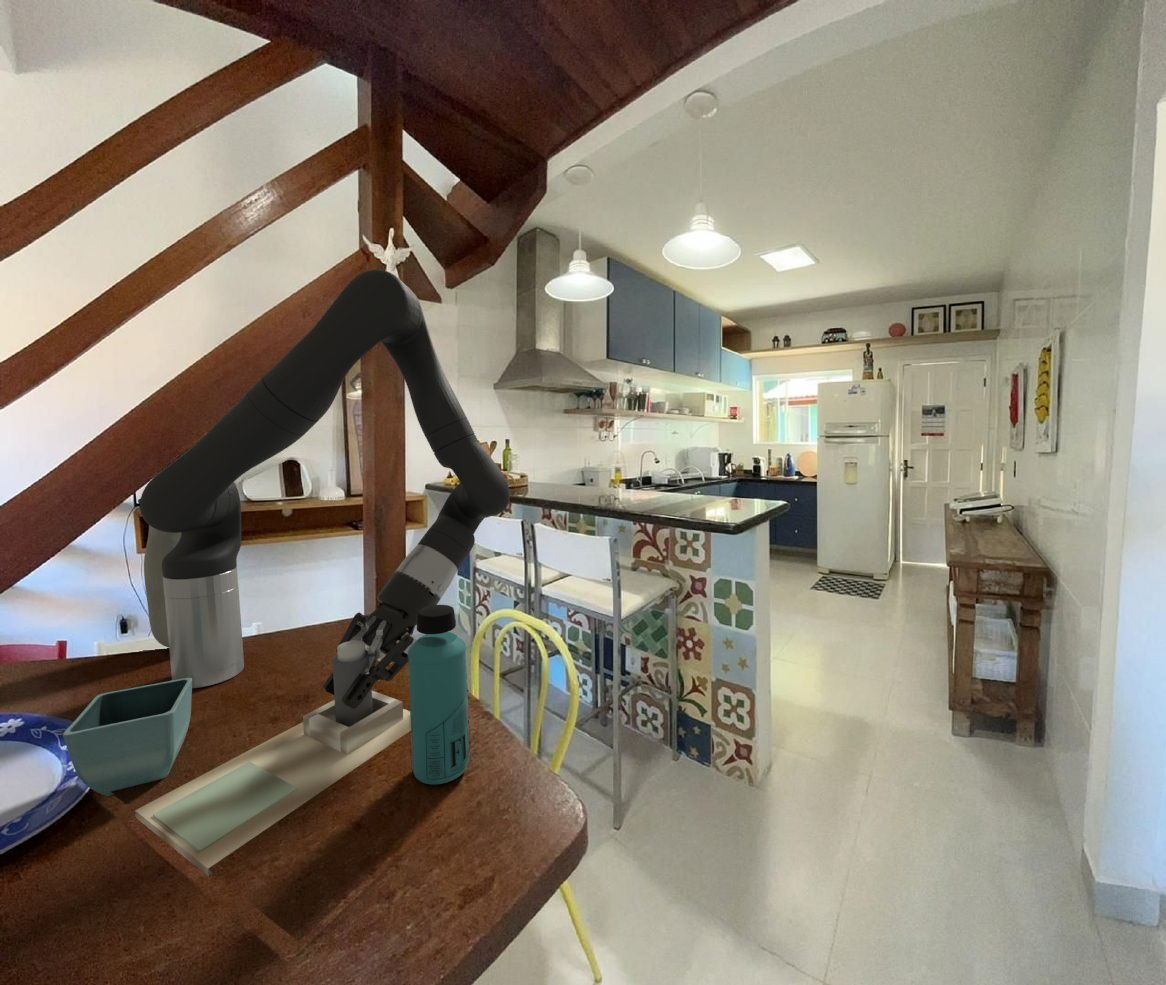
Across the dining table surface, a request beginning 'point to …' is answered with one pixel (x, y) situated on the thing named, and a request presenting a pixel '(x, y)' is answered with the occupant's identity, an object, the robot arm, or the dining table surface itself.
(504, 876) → the dining table surface
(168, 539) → the grey tall rounded piece
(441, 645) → the beverage bottle
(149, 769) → the flower pot
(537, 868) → the dining table surface
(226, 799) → the cream tray
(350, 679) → the grey capped cylinder
